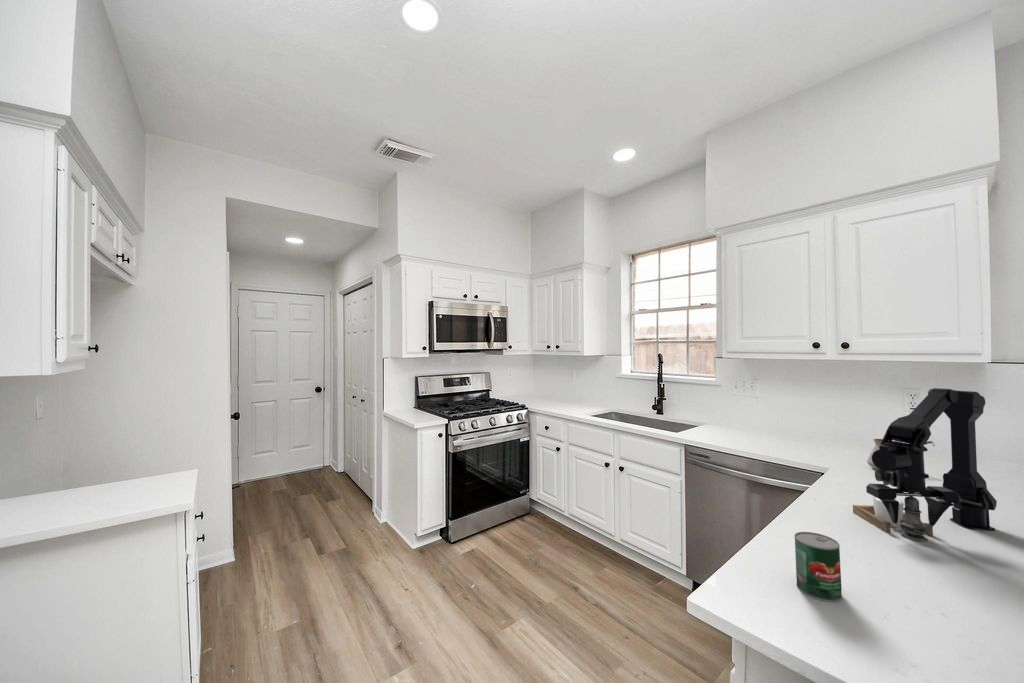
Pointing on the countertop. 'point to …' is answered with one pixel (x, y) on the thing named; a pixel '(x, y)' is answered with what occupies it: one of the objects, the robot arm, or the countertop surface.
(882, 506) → the white tapered cup
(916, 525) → the salt shaker
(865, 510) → the wooden stand
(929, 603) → the countertop surface
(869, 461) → the coffee pot
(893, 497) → the robot arm
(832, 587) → the canned tomato
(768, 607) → the countertop surface
